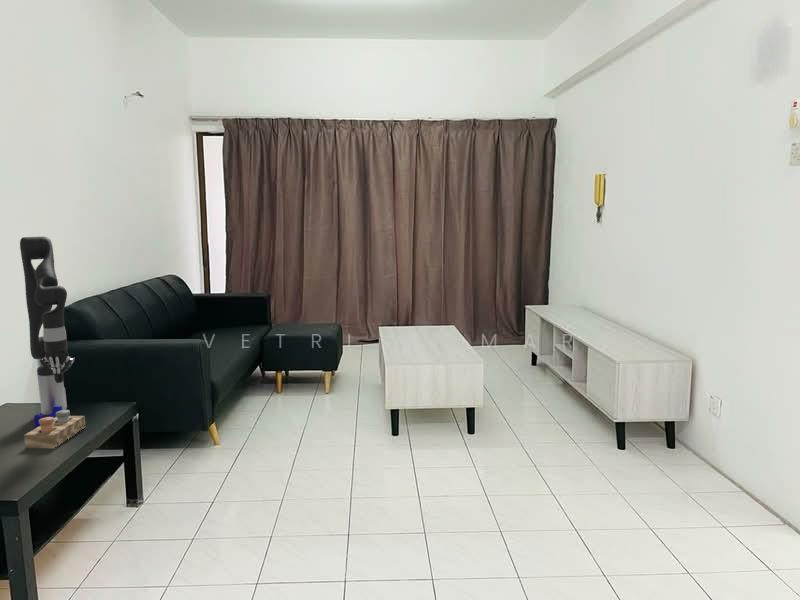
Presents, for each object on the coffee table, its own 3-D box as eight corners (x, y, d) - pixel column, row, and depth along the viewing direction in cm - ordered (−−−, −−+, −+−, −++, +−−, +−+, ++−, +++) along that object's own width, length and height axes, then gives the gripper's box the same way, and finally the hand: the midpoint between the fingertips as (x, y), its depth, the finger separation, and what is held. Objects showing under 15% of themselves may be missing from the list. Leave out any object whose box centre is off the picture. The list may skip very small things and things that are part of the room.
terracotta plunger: (46, 436, 225) (44, 416, 224) (58, 436, 225) (56, 416, 223) (37, 441, 220) (35, 421, 219) (50, 441, 220) (48, 421, 219)
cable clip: (53, 419, 248) (51, 405, 247) (63, 419, 247) (61, 405, 246) (32, 429, 236) (30, 415, 235) (42, 430, 235) (40, 415, 234)
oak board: (58, 427, 238) (57, 415, 237) (85, 428, 237) (84, 416, 236) (25, 448, 218) (24, 435, 217) (54, 448, 217) (53, 435, 217)
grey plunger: (62, 428, 235) (60, 409, 234) (74, 428, 235) (72, 409, 233) (54, 433, 230) (52, 414, 229) (66, 433, 230) (64, 414, 229)
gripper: (77, 336, 230) (81, 379, 233) (44, 336, 230) (49, 379, 233) (66, 340, 222) (70, 385, 225) (31, 340, 223) (36, 385, 226)
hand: (59, 382), depth 229 cm, fingers closed
